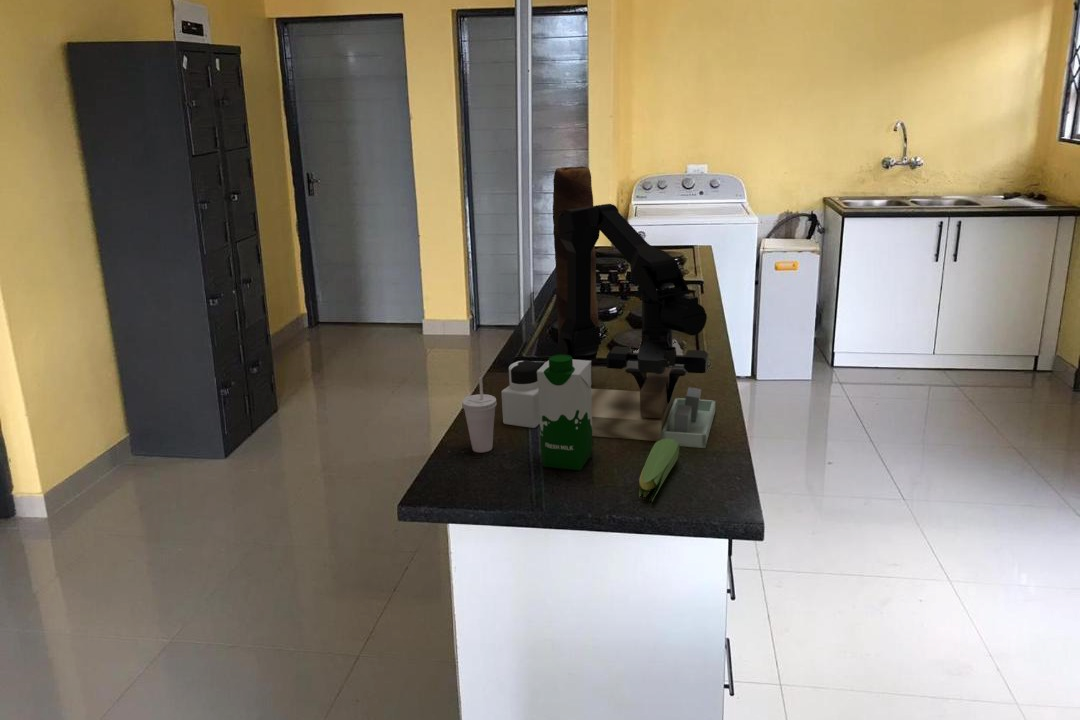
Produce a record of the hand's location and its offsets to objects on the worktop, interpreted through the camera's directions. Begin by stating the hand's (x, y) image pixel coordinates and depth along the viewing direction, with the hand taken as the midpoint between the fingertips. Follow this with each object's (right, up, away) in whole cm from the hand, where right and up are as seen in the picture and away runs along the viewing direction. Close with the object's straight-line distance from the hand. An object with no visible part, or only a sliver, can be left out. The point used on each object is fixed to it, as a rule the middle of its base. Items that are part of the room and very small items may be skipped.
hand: (657, 401), depth 167 cm
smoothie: (-33, -9, -5) cm, 35 cm away
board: (-6, -4, +3) cm, 8 cm away
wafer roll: (-13, +10, +50) cm, 53 cm away
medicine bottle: (-25, -4, +7) cm, 27 cm away
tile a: (+6, 0, +3) cm, 7 cm away
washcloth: (+5, +8, +42) cm, 43 cm away
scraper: (0, 0, 0) cm, 0 cm away
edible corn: (-3, -13, -21) cm, 24 cm away
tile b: (+3, -3, -5) cm, 7 cm away
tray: (+6, -5, 0) cm, 8 cm away
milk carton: (-18, -10, -12) cm, 24 cm away
